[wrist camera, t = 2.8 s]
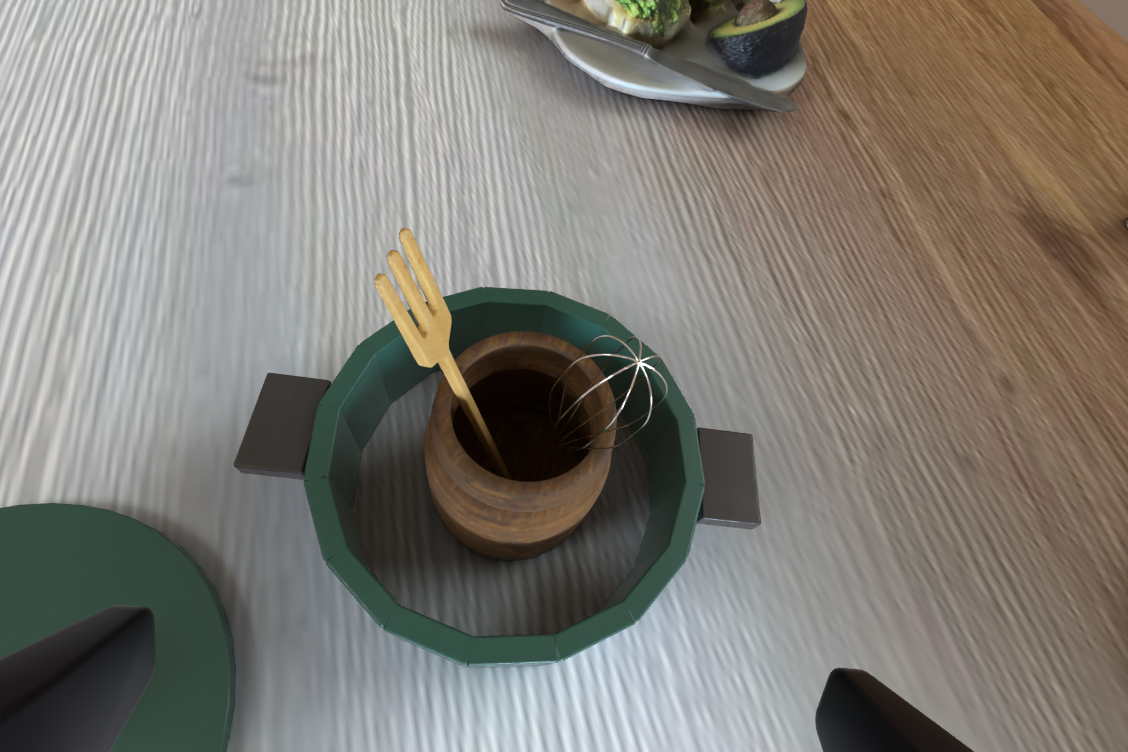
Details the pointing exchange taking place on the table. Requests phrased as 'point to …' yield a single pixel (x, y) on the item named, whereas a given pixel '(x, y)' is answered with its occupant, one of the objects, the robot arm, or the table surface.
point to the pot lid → (123, 577)
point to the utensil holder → (508, 423)
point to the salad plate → (681, 47)
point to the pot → (388, 369)
